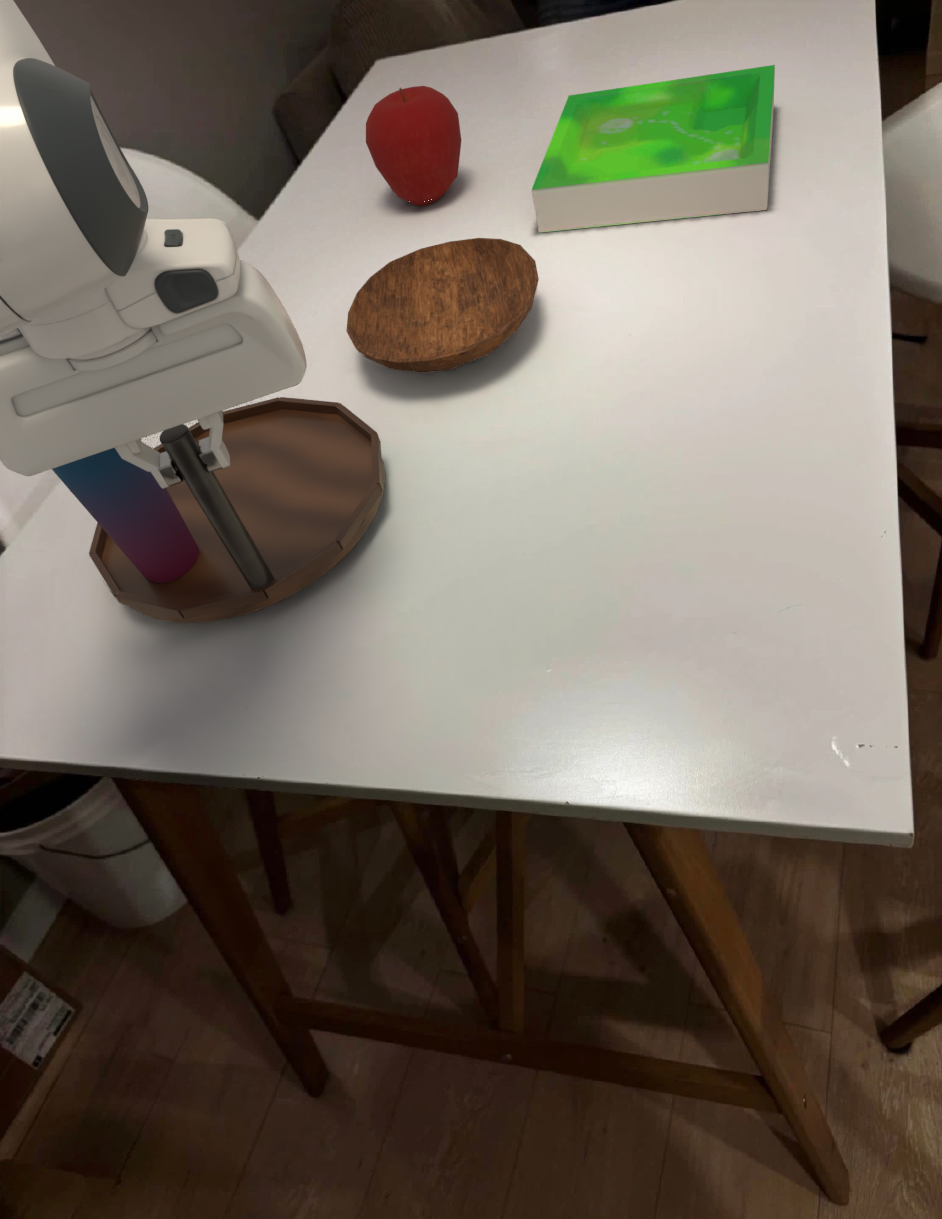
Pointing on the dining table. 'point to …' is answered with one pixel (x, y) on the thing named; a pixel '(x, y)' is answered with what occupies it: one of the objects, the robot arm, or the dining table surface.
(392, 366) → the bowl
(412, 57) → the dining table surface
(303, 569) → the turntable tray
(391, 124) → the apple
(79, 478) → the cup
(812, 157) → the dining table surface
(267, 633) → the dining table surface
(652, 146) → the green flat block
